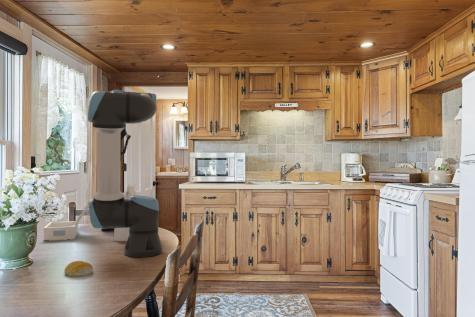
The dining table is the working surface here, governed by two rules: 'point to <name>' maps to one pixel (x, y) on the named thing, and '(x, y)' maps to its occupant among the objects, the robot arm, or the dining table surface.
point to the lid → (82, 213)
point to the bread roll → (78, 269)
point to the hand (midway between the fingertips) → (117, 167)
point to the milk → (123, 233)
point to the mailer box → (60, 230)
